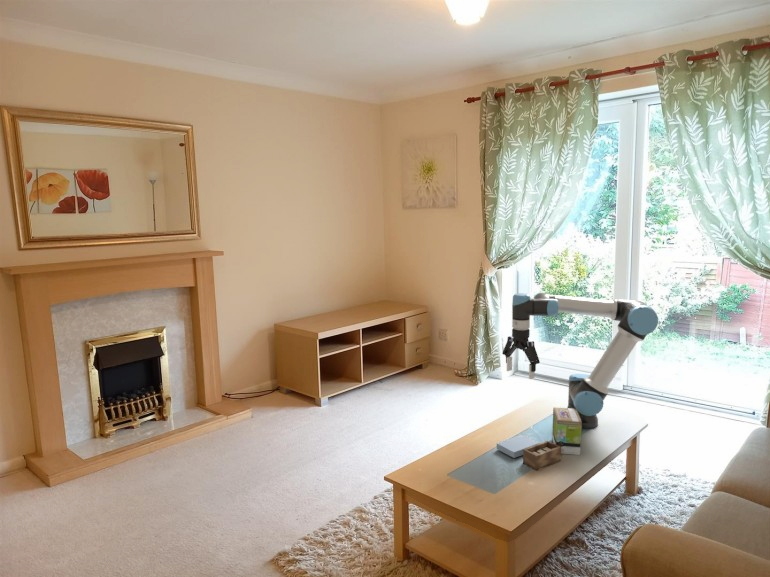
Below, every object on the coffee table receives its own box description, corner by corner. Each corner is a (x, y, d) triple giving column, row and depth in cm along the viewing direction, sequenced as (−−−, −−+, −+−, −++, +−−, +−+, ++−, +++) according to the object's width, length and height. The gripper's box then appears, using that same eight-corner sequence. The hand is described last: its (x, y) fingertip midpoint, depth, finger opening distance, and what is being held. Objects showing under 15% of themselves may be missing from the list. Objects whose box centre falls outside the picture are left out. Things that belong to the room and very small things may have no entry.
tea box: (581, 455, 217) (582, 421, 215) (555, 453, 219) (556, 420, 217) (575, 439, 231) (576, 407, 229) (551, 438, 233) (552, 406, 231)
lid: (522, 441, 231) (522, 434, 231) (539, 450, 223) (539, 442, 222) (496, 450, 223) (496, 443, 223) (513, 459, 215) (514, 452, 214)
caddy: (547, 454, 218) (547, 440, 218) (560, 460, 213) (561, 446, 212) (523, 463, 211) (523, 449, 210) (536, 470, 205) (536, 456, 204)
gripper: (494, 324, 244) (494, 369, 247) (536, 334, 223) (535, 383, 226) (506, 322, 247) (506, 366, 251) (548, 332, 226) (547, 379, 230)
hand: (520, 374), depth 238 cm, fingers open, 13 cm apart
